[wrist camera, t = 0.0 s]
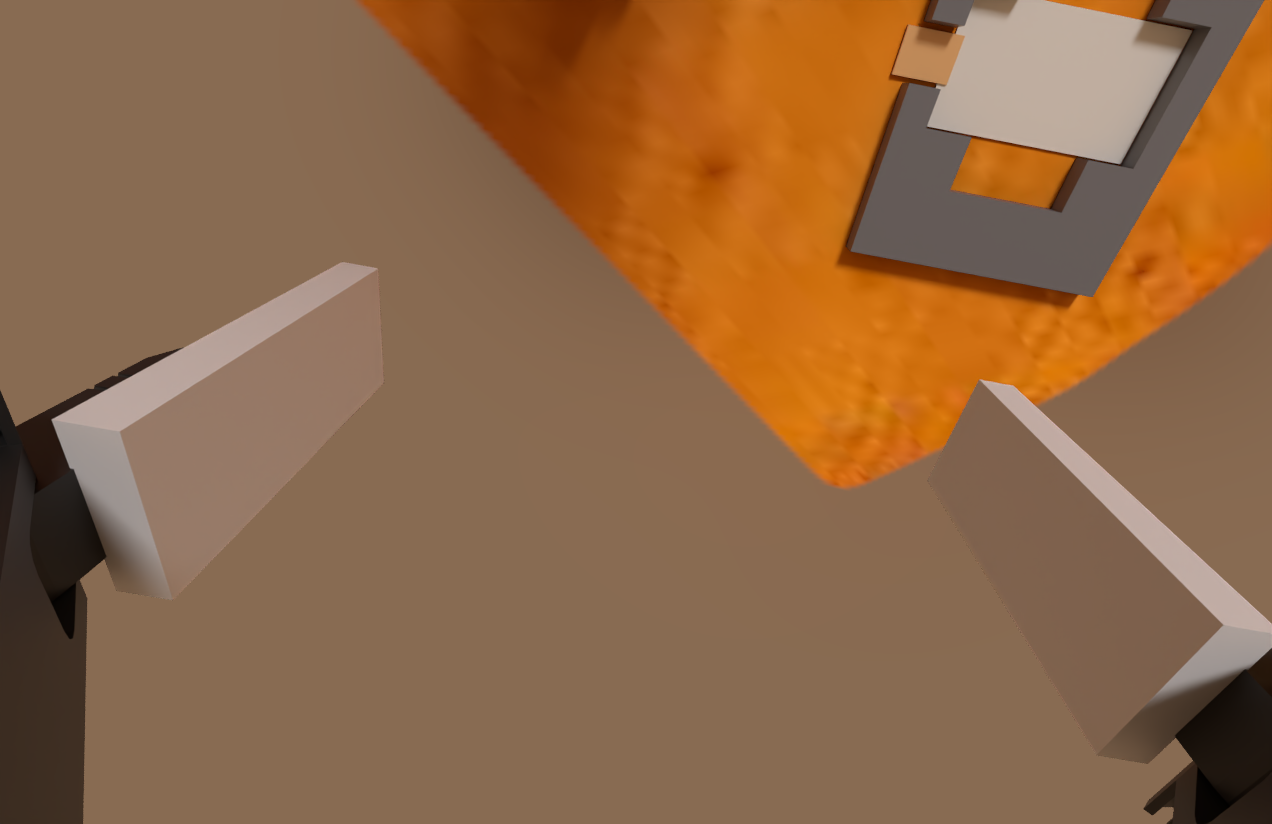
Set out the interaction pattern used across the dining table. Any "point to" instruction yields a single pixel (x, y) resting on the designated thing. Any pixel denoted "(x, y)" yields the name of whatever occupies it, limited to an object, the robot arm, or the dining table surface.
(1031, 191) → the dining table surface
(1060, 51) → the chassis
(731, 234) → the dining table surface
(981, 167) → the dining table surface
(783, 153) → the dining table surface
